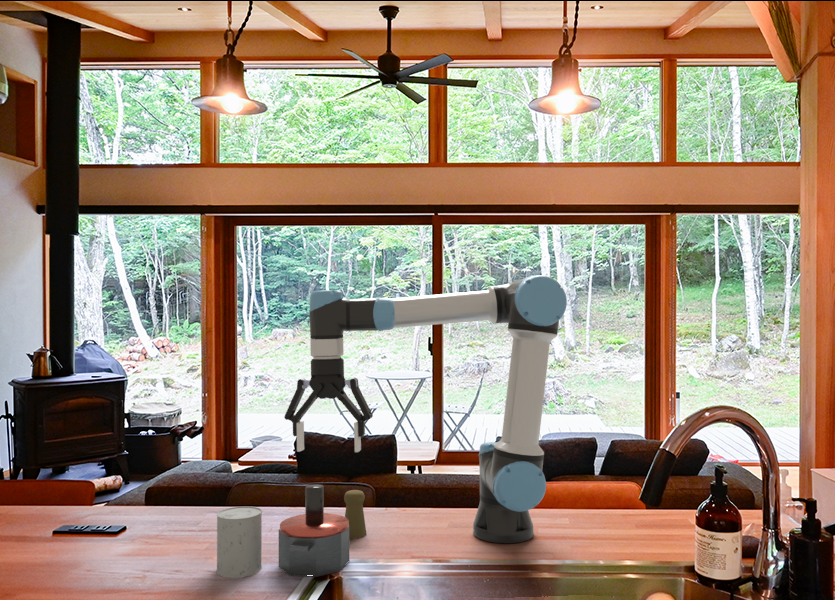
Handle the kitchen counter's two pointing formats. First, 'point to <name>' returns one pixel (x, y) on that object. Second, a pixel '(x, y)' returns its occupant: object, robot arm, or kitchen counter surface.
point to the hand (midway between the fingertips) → (329, 451)
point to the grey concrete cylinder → (239, 541)
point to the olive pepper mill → (355, 513)
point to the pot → (313, 554)
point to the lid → (314, 518)
